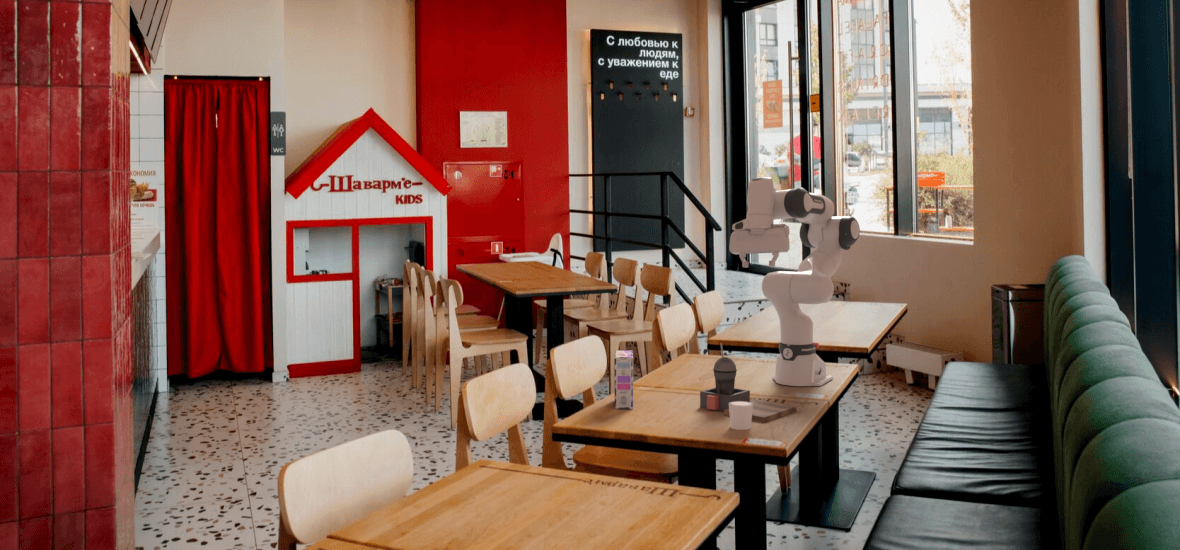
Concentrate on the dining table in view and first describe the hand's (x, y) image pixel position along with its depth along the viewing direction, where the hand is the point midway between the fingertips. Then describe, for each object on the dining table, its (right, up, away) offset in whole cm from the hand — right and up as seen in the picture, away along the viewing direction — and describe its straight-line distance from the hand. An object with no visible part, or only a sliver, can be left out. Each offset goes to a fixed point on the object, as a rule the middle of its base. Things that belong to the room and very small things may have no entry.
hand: (758, 266), depth 297 cm
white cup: (-12, -46, -40) cm, 62 cm away
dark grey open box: (-13, -44, -14) cm, 48 cm away
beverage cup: (-13, -44, -14) cm, 48 cm away
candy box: (-44, -44, -10) cm, 63 cm away
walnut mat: (-4, -44, -23) cm, 50 cm away
